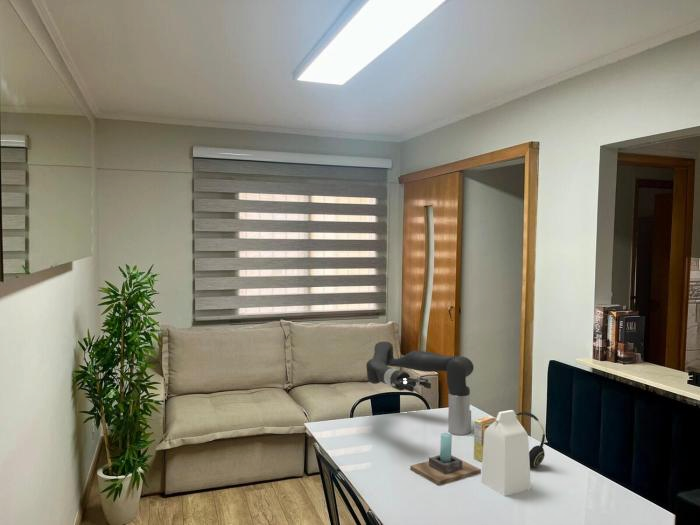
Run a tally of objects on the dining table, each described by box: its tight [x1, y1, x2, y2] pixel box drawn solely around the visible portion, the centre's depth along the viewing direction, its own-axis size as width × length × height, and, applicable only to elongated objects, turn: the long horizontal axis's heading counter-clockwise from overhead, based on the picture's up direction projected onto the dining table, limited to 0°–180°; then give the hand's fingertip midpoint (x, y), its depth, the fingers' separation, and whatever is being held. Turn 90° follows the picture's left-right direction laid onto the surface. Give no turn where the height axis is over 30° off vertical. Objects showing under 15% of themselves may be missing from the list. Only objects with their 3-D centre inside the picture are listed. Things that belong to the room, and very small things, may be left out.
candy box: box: [473, 416, 496, 463], centre depth 218 cm, size 9×4×15 cm, turn 129°
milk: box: [480, 409, 532, 497], centre depth 193 cm, size 12×12×26 cm
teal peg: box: [439, 432, 453, 463], centre depth 205 cm, size 4×4×12 cm
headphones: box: [515, 411, 546, 468], centre depth 212 cm, size 9×15×20 cm, turn 39°
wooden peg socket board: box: [409, 454, 482, 486], centre depth 205 cm, size 20×16×4 cm
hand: (421, 387), depth 216 cm, fingers open, 8 cm apart
